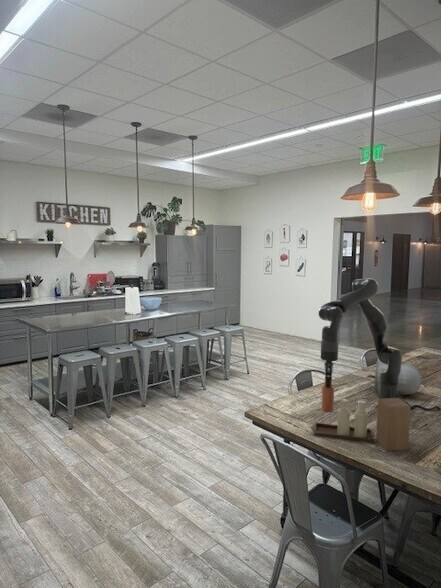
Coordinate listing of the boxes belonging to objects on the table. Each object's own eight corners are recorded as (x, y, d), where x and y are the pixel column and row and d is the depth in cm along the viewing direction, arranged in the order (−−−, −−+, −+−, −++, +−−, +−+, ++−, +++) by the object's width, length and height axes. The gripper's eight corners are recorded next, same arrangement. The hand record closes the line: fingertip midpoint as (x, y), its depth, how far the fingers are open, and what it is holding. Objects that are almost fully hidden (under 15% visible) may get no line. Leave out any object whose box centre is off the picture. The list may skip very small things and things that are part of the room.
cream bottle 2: (366, 433, 182) (367, 400, 180) (367, 439, 177) (368, 404, 175) (353, 432, 183) (355, 398, 181) (354, 437, 178) (356, 403, 176)
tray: (371, 433, 184) (371, 429, 183) (373, 444, 173) (374, 439, 173) (314, 426, 190) (315, 422, 190) (314, 436, 180) (314, 432, 180)
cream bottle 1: (349, 431, 184) (350, 398, 182) (349, 437, 178) (351, 402, 177) (336, 430, 185) (338, 397, 183) (337, 435, 180) (338, 401, 178)
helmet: (363, 394, 234) (420, 402, 220) (363, 364, 232) (421, 369, 218) (368, 384, 250) (421, 391, 236) (368, 356, 249) (422, 361, 234)
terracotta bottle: (333, 408, 184) (334, 374, 182) (333, 413, 179) (334, 378, 177) (321, 407, 186) (322, 373, 184) (321, 411, 181) (322, 377, 179)
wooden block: (375, 440, 176) (377, 397, 174) (396, 439, 177) (399, 397, 175) (386, 452, 166) (388, 406, 164) (408, 451, 167) (411, 406, 165)
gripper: (338, 353, 171) (336, 392, 173) (337, 346, 185) (336, 381, 187) (320, 352, 173) (319, 390, 175) (321, 344, 187) (320, 380, 189)
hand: (328, 385), depth 181 cm, fingers closed on terracotta bottle, 4 cm apart
